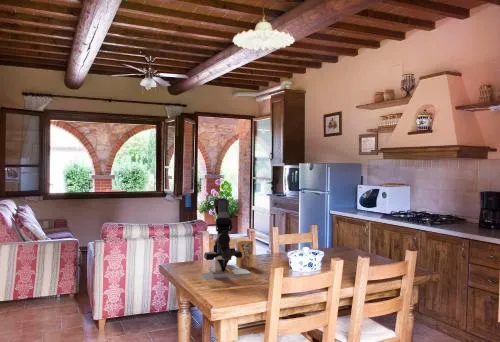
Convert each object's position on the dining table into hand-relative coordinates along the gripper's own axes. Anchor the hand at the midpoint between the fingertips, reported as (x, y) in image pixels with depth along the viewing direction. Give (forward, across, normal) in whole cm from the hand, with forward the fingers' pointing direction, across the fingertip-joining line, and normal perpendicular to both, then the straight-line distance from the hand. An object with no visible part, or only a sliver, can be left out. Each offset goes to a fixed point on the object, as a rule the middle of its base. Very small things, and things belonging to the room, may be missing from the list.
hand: (223, 271), depth 217 cm
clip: (0, +2, +5) cm, 5 cm away
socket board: (+5, +4, +8) cm, 10 cm away
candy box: (+5, +19, +24) cm, 31 cm away
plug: (+4, -1, +7) cm, 8 cm away
